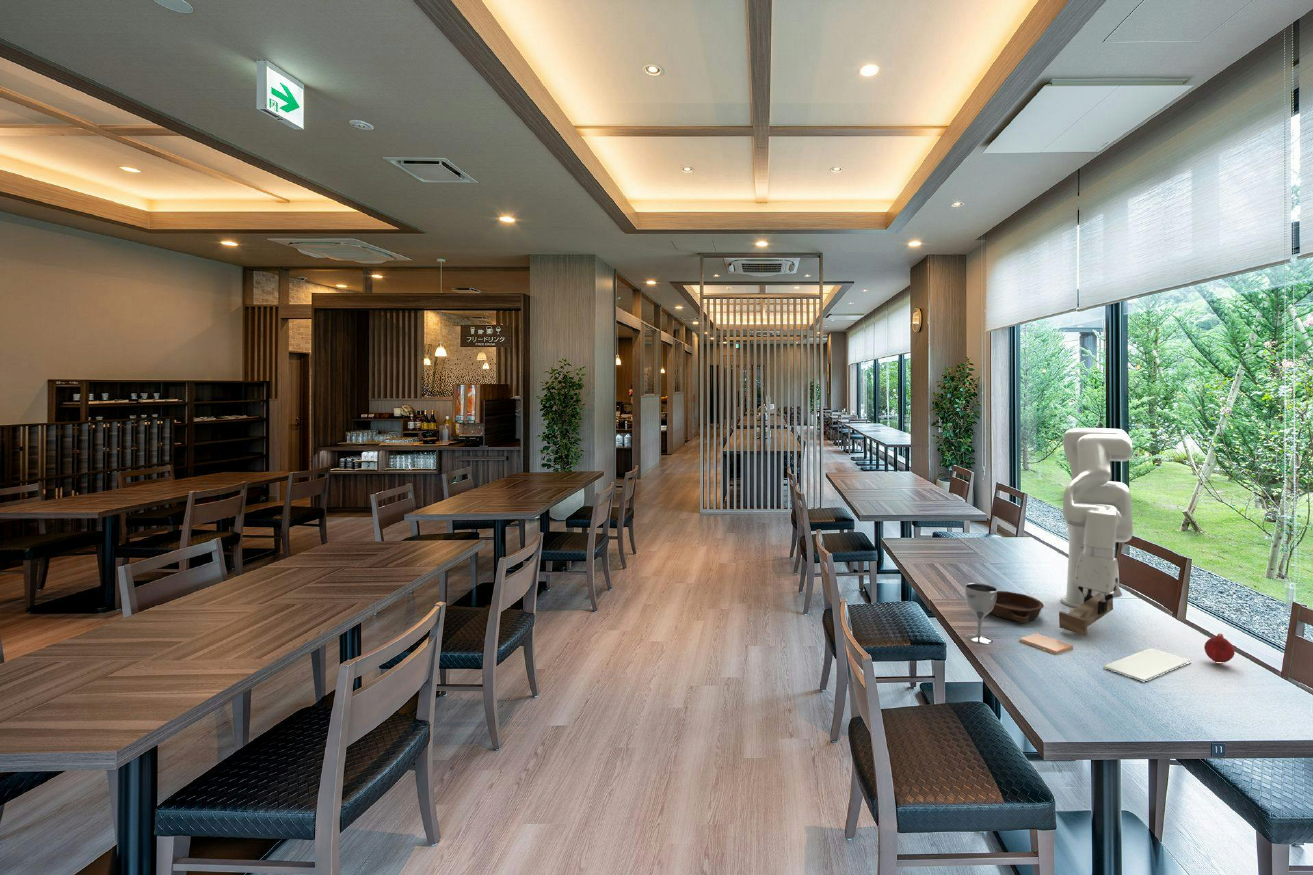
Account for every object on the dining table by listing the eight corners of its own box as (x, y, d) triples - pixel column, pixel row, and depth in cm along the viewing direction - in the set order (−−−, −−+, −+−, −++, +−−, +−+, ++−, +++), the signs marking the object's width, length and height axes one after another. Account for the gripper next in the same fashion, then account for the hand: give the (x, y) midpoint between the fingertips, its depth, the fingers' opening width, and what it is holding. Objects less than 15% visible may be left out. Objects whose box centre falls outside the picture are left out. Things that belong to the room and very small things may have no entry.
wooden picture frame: (1036, 633, 181) (1019, 638, 177) (1073, 645, 172) (1056, 651, 169) (1036, 637, 181) (1019, 642, 177) (1072, 650, 172) (1056, 656, 169)
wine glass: (982, 646, 173) (985, 593, 172) (957, 636, 181) (959, 585, 179) (1000, 641, 177) (1003, 589, 176) (975, 631, 184) (977, 581, 183)
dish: (988, 623, 191) (989, 607, 191) (972, 600, 213) (973, 586, 212) (1053, 629, 187) (1054, 613, 187) (1030, 605, 208) (1031, 590, 208)
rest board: (1150, 650, 172) (1150, 647, 172) (1190, 663, 164) (1191, 660, 164) (1103, 668, 160) (1103, 665, 160) (1144, 682, 152) (1144, 679, 152)
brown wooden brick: (1095, 603, 194) (1094, 588, 193) (1120, 611, 188) (1120, 596, 187) (1059, 627, 185) (1058, 611, 184) (1085, 636, 179) (1084, 620, 178)
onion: (1235, 670, 160) (1238, 639, 159) (1206, 665, 163) (1208, 634, 162) (1230, 662, 165) (1232, 632, 164) (1201, 657, 168) (1203, 627, 167)
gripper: (1062, 546, 191) (1059, 605, 193) (1123, 560, 176) (1119, 623, 178) (1076, 542, 194) (1073, 600, 196) (1137, 556, 180) (1132, 618, 182)
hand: (1095, 610), depth 187 cm, fingers closed on brown wooden brick, 2 cm apart
